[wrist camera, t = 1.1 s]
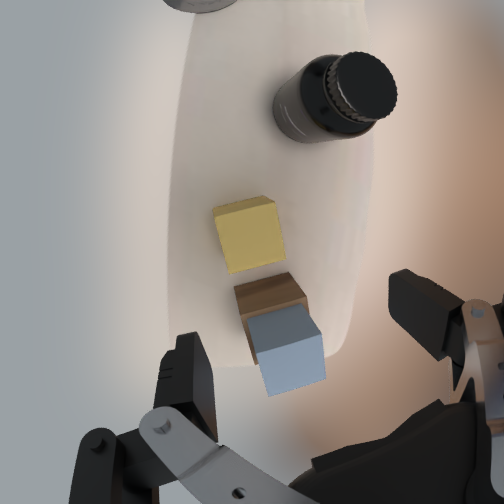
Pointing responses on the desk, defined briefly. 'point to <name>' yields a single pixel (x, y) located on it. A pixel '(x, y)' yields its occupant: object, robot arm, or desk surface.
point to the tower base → (267, 299)
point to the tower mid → (287, 349)
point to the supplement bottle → (335, 98)
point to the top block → (249, 233)
